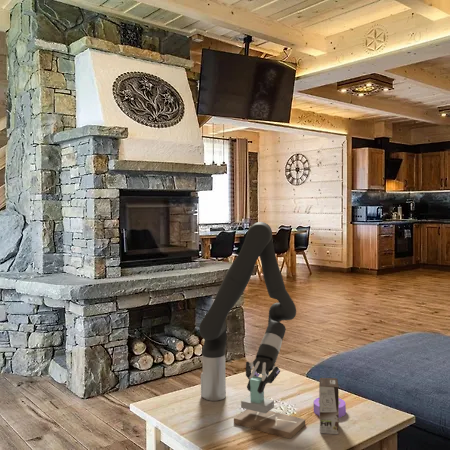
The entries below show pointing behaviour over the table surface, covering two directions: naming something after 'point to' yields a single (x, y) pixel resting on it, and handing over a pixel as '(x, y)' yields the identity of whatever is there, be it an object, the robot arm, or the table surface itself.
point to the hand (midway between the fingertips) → (254, 391)
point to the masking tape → (341, 407)
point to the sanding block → (257, 398)
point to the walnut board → (270, 422)
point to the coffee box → (329, 405)
